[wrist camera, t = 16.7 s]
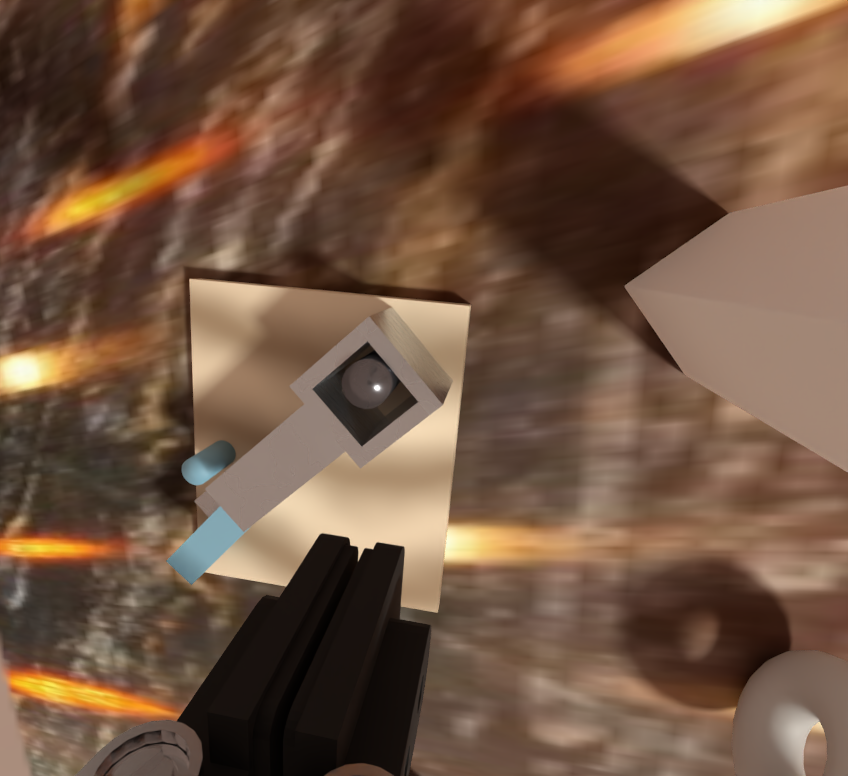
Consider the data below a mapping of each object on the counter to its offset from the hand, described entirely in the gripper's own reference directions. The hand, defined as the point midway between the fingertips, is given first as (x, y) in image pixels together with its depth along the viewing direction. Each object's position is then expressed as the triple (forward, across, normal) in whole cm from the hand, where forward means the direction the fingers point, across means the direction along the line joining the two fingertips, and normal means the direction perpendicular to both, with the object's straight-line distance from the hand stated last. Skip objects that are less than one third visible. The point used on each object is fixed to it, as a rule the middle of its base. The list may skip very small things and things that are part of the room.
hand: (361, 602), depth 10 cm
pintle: (+19, +4, 0) cm, 19 cm away
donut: (+19, -20, +17) cm, 33 cm away
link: (+18, +8, +5) cm, 20 cm away
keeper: (+19, +14, +10) cm, 26 cm away
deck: (+20, +8, +6) cm, 22 cm away
